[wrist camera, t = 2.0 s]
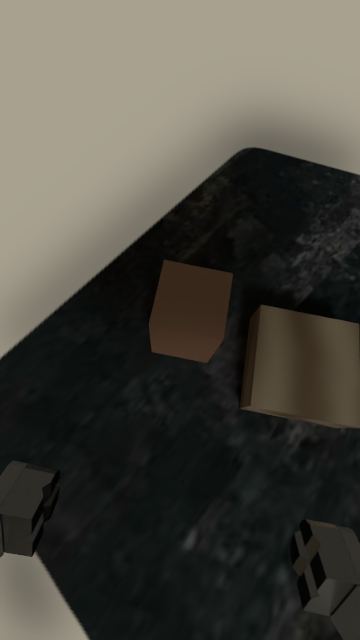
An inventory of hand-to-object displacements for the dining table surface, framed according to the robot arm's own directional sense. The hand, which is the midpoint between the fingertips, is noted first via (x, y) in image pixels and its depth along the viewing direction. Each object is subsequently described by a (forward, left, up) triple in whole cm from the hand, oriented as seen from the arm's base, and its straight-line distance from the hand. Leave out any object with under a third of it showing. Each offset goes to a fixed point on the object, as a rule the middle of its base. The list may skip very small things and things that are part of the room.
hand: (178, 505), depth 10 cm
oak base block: (-11, -11, -20) cm, 25 cm away
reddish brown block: (+1, -13, -20) cm, 24 cm away
